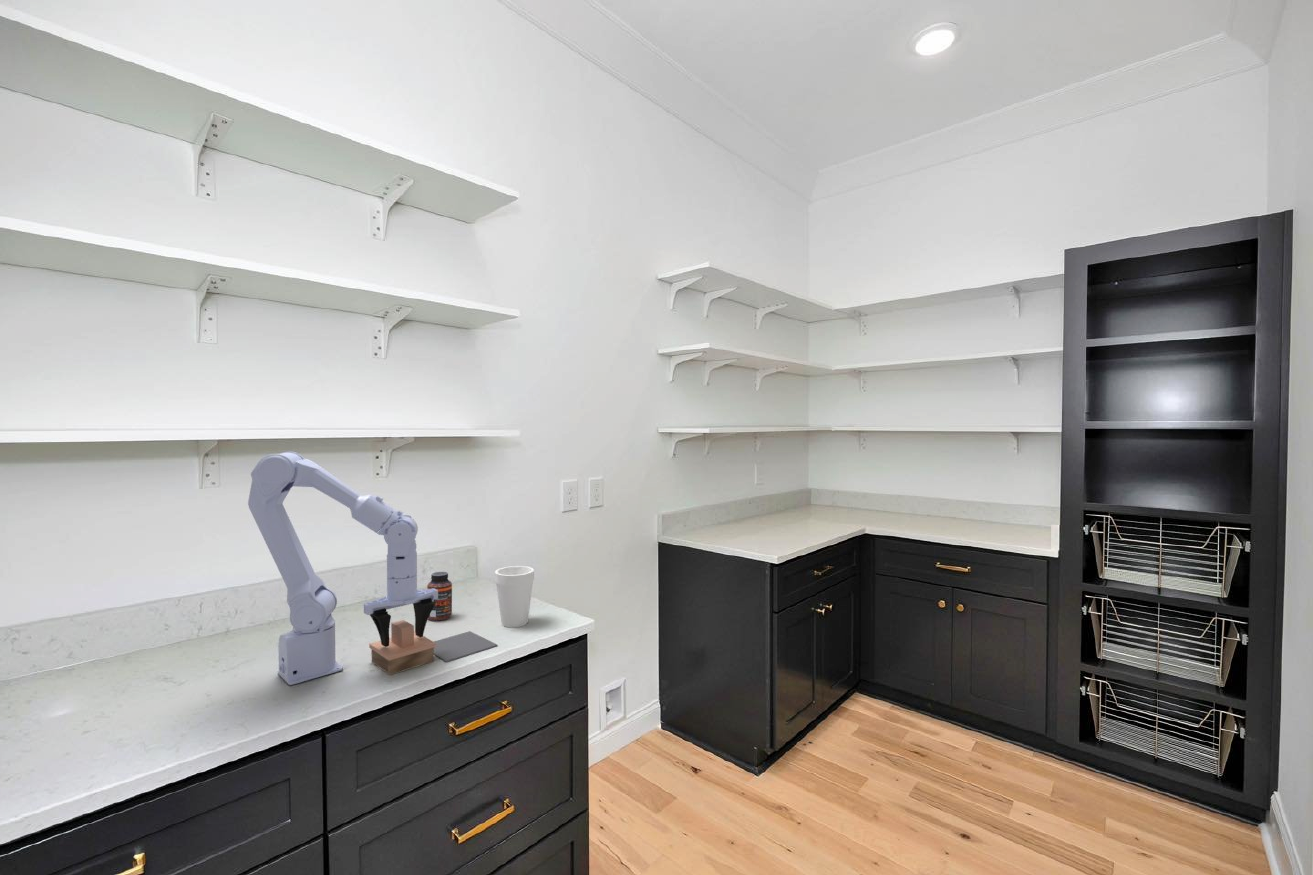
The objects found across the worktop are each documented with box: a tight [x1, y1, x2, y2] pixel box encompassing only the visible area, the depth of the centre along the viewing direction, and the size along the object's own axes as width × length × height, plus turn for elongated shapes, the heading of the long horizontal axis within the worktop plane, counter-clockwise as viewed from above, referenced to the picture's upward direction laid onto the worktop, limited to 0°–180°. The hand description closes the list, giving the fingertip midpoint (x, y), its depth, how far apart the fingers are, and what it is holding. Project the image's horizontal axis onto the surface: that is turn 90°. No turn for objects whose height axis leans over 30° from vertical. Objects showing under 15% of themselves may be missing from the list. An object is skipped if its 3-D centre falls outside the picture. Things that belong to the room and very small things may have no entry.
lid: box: [369, 619, 436, 661], centre depth 120 cm, size 10×10×5 cm
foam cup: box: [494, 565, 535, 628], centre depth 143 cm, size 10×9×13 cm
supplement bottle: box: [426, 571, 453, 622], centre depth 147 cm, size 6×6×11 cm
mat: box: [433, 630, 498, 663], centre depth 128 cm, size 12×12×1 cm
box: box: [371, 647, 435, 676], centre depth 120 cm, size 9×9×3 cm
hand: (402, 640), depth 120 cm, fingers open, 6 cm apart
